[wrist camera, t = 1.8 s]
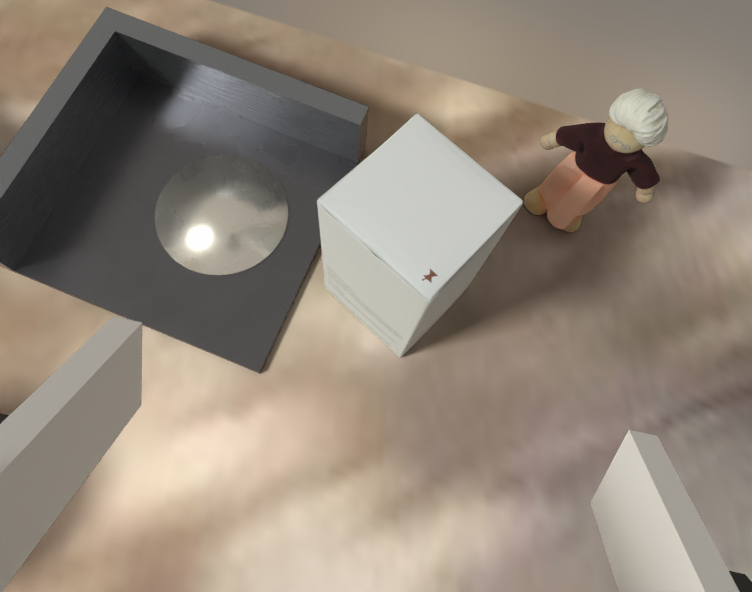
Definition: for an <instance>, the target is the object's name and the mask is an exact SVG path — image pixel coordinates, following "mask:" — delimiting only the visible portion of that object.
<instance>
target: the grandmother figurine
mask: <svg viewBox="0 0 752 592" xmlns="http://www.w3.org/2000/svg"><path fill="white" fill-rule="evenodd" d="M609 116H610V117H609V118H608V120H607V122H606V124H605V123H586V124H578V125H571V126H564V127H561V128H559V129H558V130H556V131H553V132H552V133H548V134H545V135H544V136H543V137H542V138H541V146H542V148H544V149H546V150H550V149H553V148H554V147H559V146H564V147H566V148H569V149H571V150H573V152H572V153H570V154H569V155H568V156H567V157H566V158H565V159H564V160H562V161H561V162H560V163H559V164H558V165H557V166H556V167H555V168H554V169H553V170H552V172H551V173H550V174H549V175H548V176H547V177H546V179H545V180H544V181H543V182H542V184H541V185H539V186H538V187H536V188H534V189H533V190H531V191H530V192H528V193H527V194H526V195H525V197H524V206H525V207H526V208H527V210H528V211H530V212H531V213H533V214H535V215H543V214H545V213H546V212H547V217H548V220H549V222H550V223H551V224H552V225H553V226H554V227H556V228H558V229H562V230H564V231H567V232H574V231H576V230H577V229H578V228H579V227H580V225H581V221H582V217H583V215H584V214H587V213H588V212H589V211H591V210H592V209H593V208H594V207H595V206H597V205H598V204H599V203H600V202H601V201H602V200H603V199H604V198H605V197H606V196H607V194H608V193H609V192H610V191H611V190H612V189H613V188H614V187H615V186H616V185H617V183H618V182H619V179H620V177H621V175H622V174H624V173H625V172H627V173H628V174H629V176H630V178H631V179H632V181H633V182H634V184H635V185H636V186H637V191H636V198H637V200H638V201H639V202H641V203H647V202H649V201H651V200H652V198H653V195H654V193H653V191H654V189H655V185H656V184H657V183H658V182H659V180H660V178H659V175H658V173H657V171H656V169H655V167H654V165H653V163H652V161H651V159H650V158H649V157H648V156H647V155H646V154H645V153H644V152H643V151H642V148H643V147H645V146H648V147H650V146H655V145H657V144H659V143H660V142H662V141H663V138H664V137H665V135H666V132H667V129H668V114H667V110H666V108H665V106H664V105H663V103H662V100H661V98H660V97H659V96H658V95H655V94H653V93H649V92H647V91H645V90H644V89H635V90H632V91H630V92H626V93H623V94H622V95H620V96H619V97H618V99H616V101H615V102H614V103H613V104H612V106H611V108H610V111H609Z"/></svg>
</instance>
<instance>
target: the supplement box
mask: <svg viewBox="0 0 752 592" xmlns="http://www.w3.org/2000/svg"><path fill="white" fill-rule="evenodd" d="M522 204H523V200H522V199H521V198H519V197H518V196H517V195H516V194H514V193H513V192H512V191H511V190H509V189H508V188H507V187H506V186H505V185H503V184H502V183H501V182H500V181H499V180H497V179H496V178H495V177H494V176H493V175H491V174H490V173H489V172H488V171H487V170H485V169H484V168H483V167H482V166H480V165H479V164H478V163H477V162H476V161H474V160H473V159H472V158H471V157H470V156H468V155H467V154H466V153H465V152H464V151H462V150H461V149H460V148H459V147H458V146H456V145H455V144H454V143H453V142H451V141H450V140H449V139H448V138H447V137H446V136H444V135H443V134H442V133H441V132H440V131H438V130H437V129H436V128H435V127H434V126H432V125H431V124H430V123H429V122H428V121H426V120H425V119H424V118H423V117H422V116H421V115H419V114H415V115H414V116H413V117H412V118H411V119H410V120H409V121H408V122H406V123H405V124H404V125H403V126H402V127H401V128H400V129H399V130H398V131H396V132H395V133H394V134H393V135H392V136H391V137H390V138H389V139H388V140H386V141H385V142H384V143H383V144H382V145H381V146H380V147H379V148H377V149H376V150H375V151H374V152H373V153H372V154H370V155H369V156H368V157H367V158H366V159H364V160H363V161H362V162H361V163H360V164H359V165H357V166H356V167H355V168H354V169H353V170H352V171H350V172H349V173H348V174H347V175H346V176H344V177H343V178H342V179H341V180H340V181H339V182H337V183H336V184H335V185H334V186H333V187H332V188H330V189H329V190H328V191H327V192H326V193H324V194H323V195H322V196H321V197H320V198H318V200H317V207H318V218H319V228H320V238H321V250H322V260H323V271H324V282H325V288H326V289H327V290H328V291H329V292H330V293H331V294H332V295H333V296H334V297H335V298H336V299H337V300H338V301H339V302H340V303H341V304H342V305H343V306H344V307H345V308H347V309H348V310H349V311H350V312H351V313H352V314H353V315H354V316H355V317H356V318H357V319H358V320H359V321H360V322H362V323H363V324H364V325H365V326H366V327H367V328H368V329H369V330H370V331H371V332H372V333H373V334H375V335H376V336H377V337H378V338H379V339H380V340H381V341H382V342H383V343H384V344H385V345H386V346H387V347H389V348H390V349H391V350H392V351H393V352H394V353H395V354H396V355H397V356H398V357H400V358H401V357H402V356H403V355H404V354H405V353H406V352H407V351H408V350H409V349H410V348H411V347H412V346H413V345H414V344H415V343H416V342H417V341H418V340H419V339H420V338H421V337H422V336H423V335H424V334H425V333H426V332H427V331H428V330H429V329H430V327H431V326H432V325H433V324H434V323H435V322H436V321H437V320H438V319H439V318H440V317H441V316H442V315H443V314H444V313H445V312H446V311H447V310H448V309H449V308H450V306H451V305H452V304H453V303H454V302H455V301H456V300H457V299H458V298H459V297H460V296H461V295H462V294H463V292H464V291H465V290H466V289H467V288H468V287H469V285H470V284H471V282H472V281H473V279H474V278H475V276H476V274H477V273H478V271H479V270H480V268H481V267H482V265H483V264H484V262H485V261H486V259H487V258H488V256H489V255H490V253H491V252H492V250H493V249H494V247H495V246H496V244H497V243H498V241H499V240H500V238H501V237H502V235H503V234H504V232H505V231H506V229H507V228H508V226H509V225H510V223H511V221H512V220H513V218H514V217H515V215H516V214H517V212H518V211H519V209H520V208H521V206H522Z"/></svg>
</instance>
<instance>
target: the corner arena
mask: <svg viewBox="0 0 752 592" xmlns="http://www.w3.org/2000/svg"><path fill="white" fill-rule="evenodd" d="M368 110H369V107H368V106H365V105H362V104H360V103H357V102H354V101H352V100H349V99H347V98H344V97H341V96H339V95H336V94H333V93H331V92H328V91H326V90H323V89H320V88H318V87H315V86H313V85H310V84H307V83H305V82H302V81H299V80H297V79H294V78H292V77H289V76H286V75H284V74H281V73H279V72H276V71H273V70H271V69H268V68H265V67H263V66H260V65H258V64H255V63H252V62H250V61H247V60H244V59H242V58H239V57H237V56H234V55H231V54H229V53H226V52H224V51H221V50H218V49H216V48H213V47H210V46H208V45H205V44H203V43H200V42H197V41H195V40H192V39H190V38H187V37H184V36H182V35H179V34H176V33H174V32H171V31H169V30H166V29H163V28H161V27H158V26H155V25H153V24H150V23H148V22H145V21H142V20H140V19H137V18H135V17H132V16H129V15H127V14H124V13H121V12H119V11H116V10H114V9H111V8H108V7H106V8H105V9H104V11H103V12H102V13H101V15H100V16H99V18H98V19H97V21H96V22H95V23H94V25H93V26H92V28H91V29H90V31H89V32H88V33H87V35H86V36H85V38H84V39H83V41H82V42H81V43H80V45H79V46H78V48H77V49H76V50H75V52H74V53H73V55H72V56H71V58H70V59H69V60H68V62H67V63H66V65H65V66H64V68H63V69H62V70H61V72H60V73H59V75H58V76H57V78H56V79H55V80H54V82H53V83H52V85H51V86H50V88H49V89H48V90H47V92H46V93H45V95H44V96H43V97H42V99H41V100H40V102H39V103H38V105H37V106H36V107H35V109H34V110H33V112H32V113H31V115H30V116H29V117H28V119H27V120H26V122H25V123H24V125H23V126H22V127H21V129H20V130H19V132H18V133H17V135H16V136H15V137H14V139H13V140H12V142H11V143H10V145H9V146H8V147H7V149H6V150H5V152H4V153H3V154H2V156H1V157H0V266H1V267H3V268H6V269H8V270H11V271H13V272H16V273H18V274H20V275H23V276H25V277H28V278H30V279H33V280H35V281H37V282H40V283H42V284H45V285H47V286H49V287H52V288H54V289H57V290H59V291H62V292H64V293H66V294H69V295H71V296H74V297H76V298H78V299H81V300H83V301H86V302H88V303H91V304H93V305H95V306H98V307H100V308H103V309H105V310H107V311H110V312H112V313H115V314H117V315H120V316H122V317H124V318H127V319H129V320H133V321H138V322H142V325H144V326H146V327H149V328H151V329H153V330H156V331H158V332H161V333H163V334H166V335H168V336H170V337H173V338H175V339H178V340H180V341H182V342H185V343H187V344H190V345H192V346H195V347H197V348H199V349H202V350H204V351H207V352H209V353H211V354H214V355H216V356H219V357H221V358H224V359H226V360H228V361H231V362H233V363H236V364H238V365H241V366H243V367H245V368H248V369H250V370H253V371H255V372H257V373H261V370H262V368H263V366H264V364H265V362H266V360H267V358H268V355H269V353H270V351H271V349H272V347H273V345H274V343H275V340H276V338H277V336H278V334H279V332H280V330H281V328H282V325H283V323H284V321H285V319H286V317H287V315H288V313H289V310H290V308H291V306H292V304H293V302H294V300H295V298H296V296H297V293H298V291H299V289H300V287H301V285H302V283H303V281H304V278H305V276H306V274H307V272H308V270H309V268H310V266H311V263H312V261H313V259H314V257H315V255H316V253H317V251H318V248H319V246H320V244H321V238H320V228H319V218H318V207H317V200H318V198H320V197H321V196H322V195H323V194H324V193H326V192H327V191H328V190H329V189H330V188H332V187H333V186H334V185H335V184H336V183H337V182H339V181H340V180H341V179H342V178H343V177H344V176H346V175H347V174H348V173H349V172H350V171H352V170H353V169H354V168H355V167H356V166H357V165H358V163H359V161H360V159H361V157H362V154H363V152H364V150H365V145H366V133H367V122H368Z"/></svg>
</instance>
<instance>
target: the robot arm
mask: <svg viewBox="0 0 752 592" xmlns="http://www.w3.org/2000/svg"><path fill="white" fill-rule="evenodd" d="M141 389H142V322H138V321H133V320H129V319H124V318H119V317H115V316H113V317H112V318H111V319H110V320H109V321H108V322H107V323H106V324H105V325H104V326H103V327H102V328H101V329H100V330H99V331H98V332H96V333H95V334H94V335H93V336H92V337H91V338H90V339H89V340H88V341H87V342H86V343H85V344H84V345H83V346H82V347H81V348H80V349H79V350H78V351H76V352H75V353H74V354H73V355H72V356H71V357H70V358H69V359H68V360H67V361H66V362H65V363H64V364H63V365H62V366H61V367H60V368H59V369H58V370H56V371H55V372H54V373H53V374H52V375H51V376H50V377H49V378H48V379H47V380H46V381H45V382H44V383H43V384H42V385H41V386H40V387H39V388H38V389H36V390H35V391H34V392H33V393H32V394H31V395H30V396H29V397H28V398H27V399H26V400H25V401H24V402H23V403H22V404H21V405H20V406H19V407H18V408H16V409H15V410H14V411H13V412H12V413H11V414H10V415H5V414H0V592H2V591H3V590H4V589H5V587H6V586H7V585H8V583H9V582H10V581H11V579H12V578H13V577H14V575H15V574H16V572H17V571H18V570H19V568H20V567H21V566H22V564H23V563H24V562H25V560H26V559H27V558H28V556H29V555H30V554H31V552H32V551H33V550H34V548H35V547H36V546H37V544H38V543H39V542H40V540H41V539H42V538H43V536H44V535H45V534H46V532H47V531H48V529H49V528H50V527H51V525H52V524H53V523H54V521H55V520H56V519H57V517H58V516H59V515H60V513H61V512H62V511H63V509H64V508H65V507H66V505H67V504H68V503H69V501H70V500H71V499H72V497H73V496H74V495H75V493H76V492H77V491H78V489H79V488H80V486H81V485H82V484H83V482H84V481H85V480H86V478H87V477H88V476H89V474H90V473H91V472H92V470H93V469H94V468H95V466H96V465H97V464H98V462H99V461H100V460H101V458H102V457H103V456H104V454H105V453H106V452H107V450H108V449H109V448H110V446H111V445H112V443H113V442H114V441H115V439H116V438H117V437H118V435H119V434H120V433H121V431H122V430H123V429H124V427H125V426H126V425H127V423H128V422H129V421H130V419H131V418H132V417H133V415H134V414H135V413H136V411H137V410H138V409H139V407H140V406H141ZM591 506H592V509H593V512H594V515H595V519H596V522H597V525H598V528H599V531H600V534H601V537H602V540H603V543H604V547H605V550H606V553H607V556H608V559H609V562H610V565H611V568H612V572H613V575H614V578H615V581H616V584H617V587H618V590H619V592H752V582H751V581H750V580H749V578H748V577H747V576H746V575H745V574H741V573H736V572H732V571H728V569H727V567H726V565H725V563H724V561H723V559H722V557H721V556H720V554H719V552H718V550H717V548H716V546H715V544H714V542H713V540H712V539H711V537H710V535H709V533H708V531H707V529H706V527H705V525H704V523H703V522H702V520H701V518H700V516H699V514H698V512H697V510H696V508H695V506H694V505H693V503H692V501H691V499H690V497H689V495H688V493H687V491H686V490H685V488H684V486H683V484H682V482H681V480H680V478H679V476H678V474H677V473H676V471H675V469H674V467H673V465H672V463H671V461H670V459H669V457H668V456H667V454H666V452H665V450H664V448H663V446H662V444H661V442H660V440H659V439H658V437H657V436H655V435H651V434H646V433H642V432H637V431H633V430H629V431H628V433H627V434H626V436H625V438H624V440H623V442H622V444H621V446H620V448H619V450H618V452H617V453H616V455H615V457H614V459H613V461H612V463H611V465H610V467H609V469H608V471H607V473H606V474H605V476H604V478H603V480H602V482H601V484H600V486H599V488H598V490H597V492H596V494H595V495H594V497H593V499H592V501H591Z"/></svg>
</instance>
